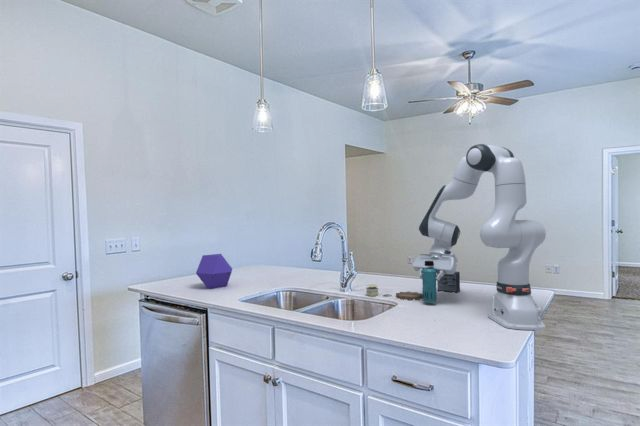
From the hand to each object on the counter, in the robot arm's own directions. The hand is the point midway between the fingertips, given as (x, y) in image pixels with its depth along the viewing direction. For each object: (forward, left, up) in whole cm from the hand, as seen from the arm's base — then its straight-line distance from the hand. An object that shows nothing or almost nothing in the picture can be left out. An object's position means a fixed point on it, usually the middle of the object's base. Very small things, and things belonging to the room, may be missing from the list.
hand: (428, 278), depth 177 cm
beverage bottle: (+1, 0, -12) cm, 12 cm away
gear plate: (+14, +8, -12) cm, 20 cm away
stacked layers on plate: (+15, +26, -12) cm, 33 cm away
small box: (+31, -13, -12) cm, 35 cm away
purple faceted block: (+30, +119, -12) cm, 123 cm away
